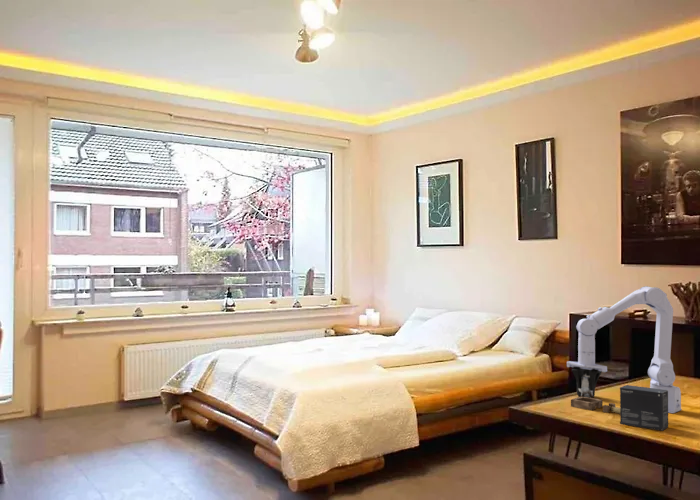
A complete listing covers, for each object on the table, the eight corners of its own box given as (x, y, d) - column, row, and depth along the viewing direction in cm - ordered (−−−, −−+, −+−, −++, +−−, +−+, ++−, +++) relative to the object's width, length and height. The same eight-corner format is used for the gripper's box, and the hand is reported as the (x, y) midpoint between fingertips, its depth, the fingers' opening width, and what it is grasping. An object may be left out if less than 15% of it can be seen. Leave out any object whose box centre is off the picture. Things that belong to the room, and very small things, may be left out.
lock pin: (634, 414, 211) (634, 404, 211) (631, 415, 209) (631, 405, 209) (608, 410, 217) (608, 399, 218) (605, 410, 216) (605, 400, 216)
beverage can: (596, 398, 235) (596, 367, 236) (578, 397, 237) (578, 366, 237) (593, 395, 242) (592, 364, 242) (575, 394, 243) (575, 364, 243)
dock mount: (616, 409, 218) (616, 402, 218) (606, 413, 213) (606, 406, 213) (581, 403, 228) (581, 396, 228) (570, 406, 223) (570, 399, 223)
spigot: (595, 396, 222) (594, 376, 222) (588, 397, 220) (588, 377, 220) (585, 394, 225) (585, 375, 225) (578, 395, 223) (578, 376, 223)
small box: (669, 427, 196) (669, 389, 196) (663, 431, 190) (662, 393, 191) (626, 419, 204) (626, 384, 205) (619, 423, 199) (619, 387, 199)
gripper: (562, 350, 225) (562, 387, 225) (600, 355, 215) (600, 394, 214) (572, 348, 230) (572, 384, 230) (609, 353, 219) (610, 391, 219)
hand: (586, 389), depth 222 cm, fingers closed on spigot, 4 cm apart
